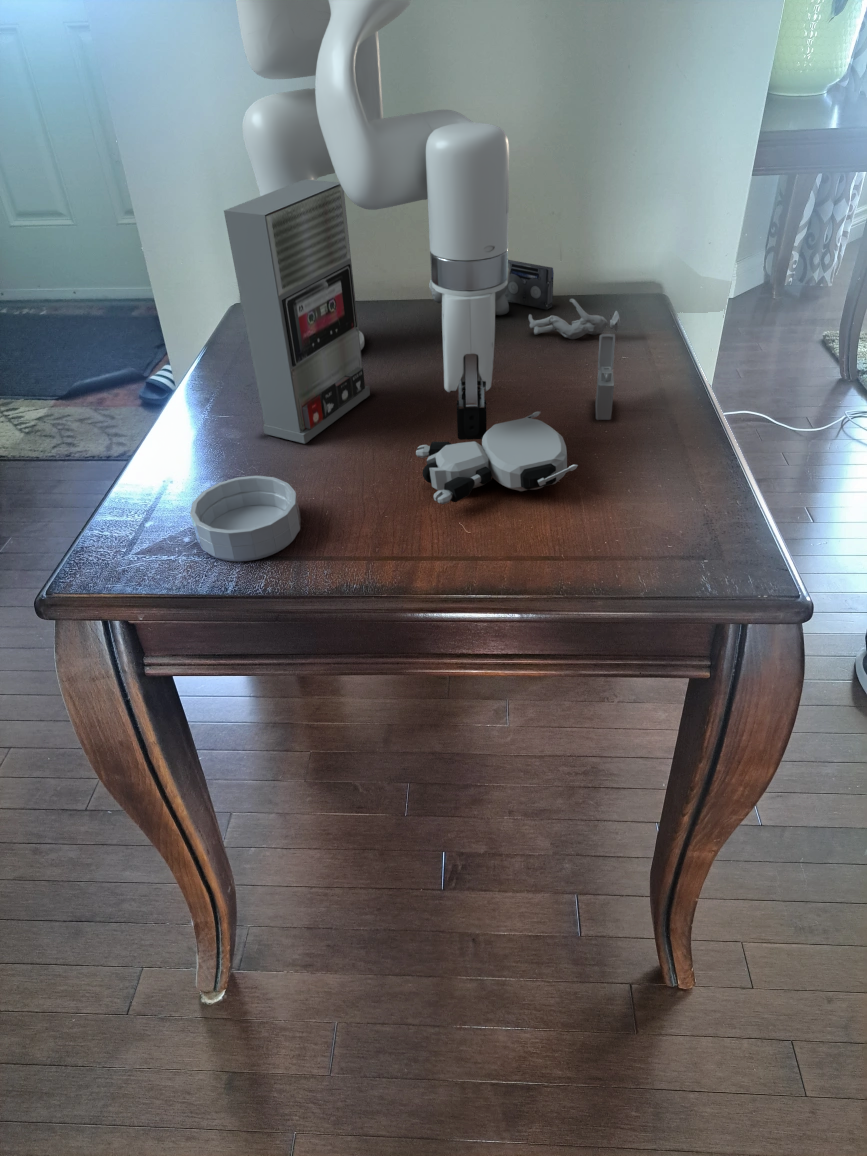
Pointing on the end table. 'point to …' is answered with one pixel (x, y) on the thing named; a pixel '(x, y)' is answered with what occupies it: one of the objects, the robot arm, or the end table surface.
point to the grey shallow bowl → (246, 518)
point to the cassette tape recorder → (299, 306)
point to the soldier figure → (575, 324)
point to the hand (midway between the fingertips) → (472, 435)
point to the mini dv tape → (530, 284)
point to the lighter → (605, 377)
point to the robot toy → (497, 460)
